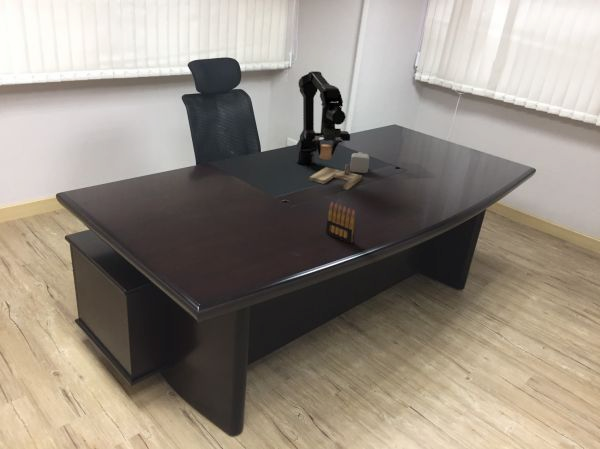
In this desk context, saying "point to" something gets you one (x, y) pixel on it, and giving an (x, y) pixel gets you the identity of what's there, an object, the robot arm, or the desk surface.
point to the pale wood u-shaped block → (336, 176)
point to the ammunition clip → (341, 223)
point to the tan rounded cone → (325, 151)
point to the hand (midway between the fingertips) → (325, 155)
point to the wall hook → (359, 162)
